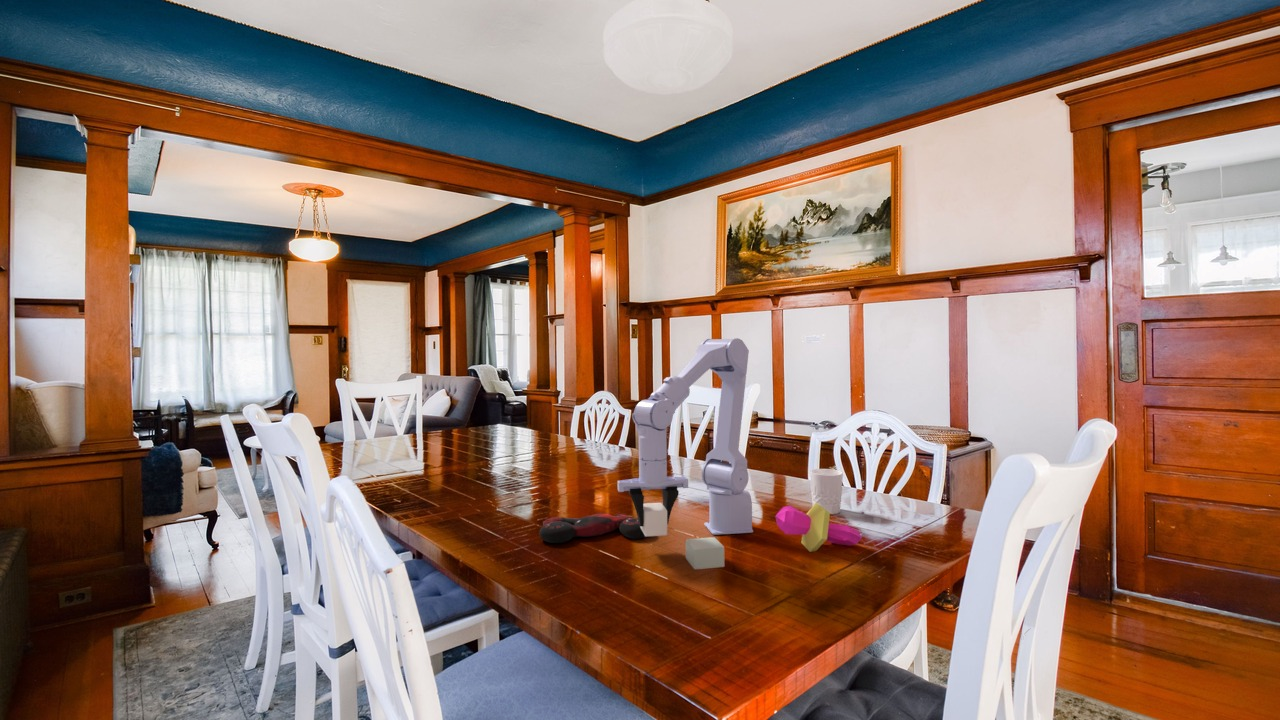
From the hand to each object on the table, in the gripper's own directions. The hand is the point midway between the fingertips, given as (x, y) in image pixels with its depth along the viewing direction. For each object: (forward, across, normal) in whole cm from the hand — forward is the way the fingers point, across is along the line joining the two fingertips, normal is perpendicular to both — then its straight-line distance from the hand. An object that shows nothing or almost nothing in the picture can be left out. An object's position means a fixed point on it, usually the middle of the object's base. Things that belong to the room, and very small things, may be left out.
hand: (653, 524), depth 120 cm
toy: (+6, -34, +4) cm, 35 cm away
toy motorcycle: (+6, +10, -16) cm, 20 cm away
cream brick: (+2, 0, 0) cm, 2 cm away
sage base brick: (+6, -9, +7) cm, 13 cm away
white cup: (+6, -50, -20) cm, 54 cm away
